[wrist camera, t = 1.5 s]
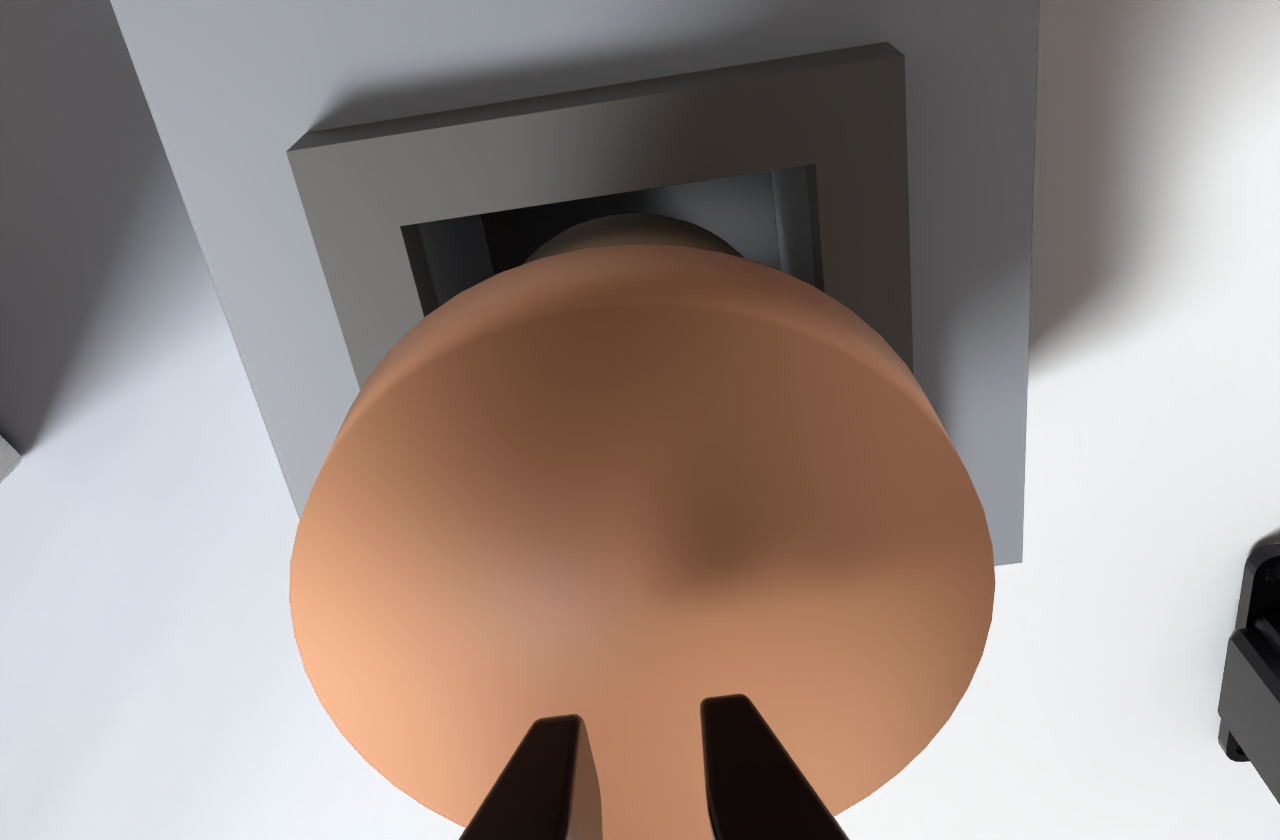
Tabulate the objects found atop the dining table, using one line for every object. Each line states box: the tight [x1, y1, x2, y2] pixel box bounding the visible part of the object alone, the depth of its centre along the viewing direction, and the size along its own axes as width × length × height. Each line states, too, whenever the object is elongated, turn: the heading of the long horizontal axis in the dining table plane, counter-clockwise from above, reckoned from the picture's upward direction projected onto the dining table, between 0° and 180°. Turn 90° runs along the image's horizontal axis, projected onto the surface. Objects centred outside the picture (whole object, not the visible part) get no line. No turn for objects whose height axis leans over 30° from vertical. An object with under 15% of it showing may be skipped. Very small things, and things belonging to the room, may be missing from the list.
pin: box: [289, 213, 995, 840], centre depth 14 cm, size 7×7×6 cm
